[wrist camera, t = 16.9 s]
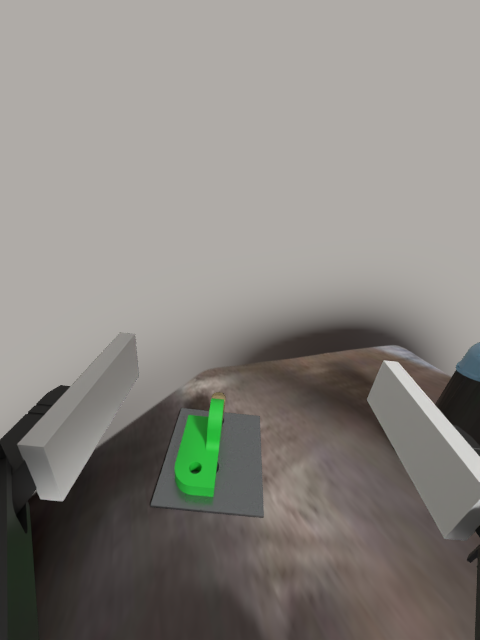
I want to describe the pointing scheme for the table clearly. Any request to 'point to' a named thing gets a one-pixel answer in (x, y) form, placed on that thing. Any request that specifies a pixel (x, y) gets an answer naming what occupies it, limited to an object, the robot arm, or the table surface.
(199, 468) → the mechanical part
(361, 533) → the table surface
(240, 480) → the bolt plate
